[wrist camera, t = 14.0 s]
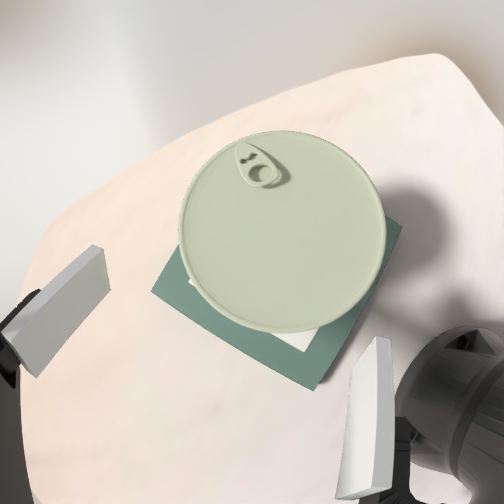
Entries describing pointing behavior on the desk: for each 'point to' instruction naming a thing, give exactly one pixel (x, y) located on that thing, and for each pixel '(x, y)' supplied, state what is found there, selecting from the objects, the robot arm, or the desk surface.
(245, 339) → the board
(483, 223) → the desk surface
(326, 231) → the can
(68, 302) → the robot arm
